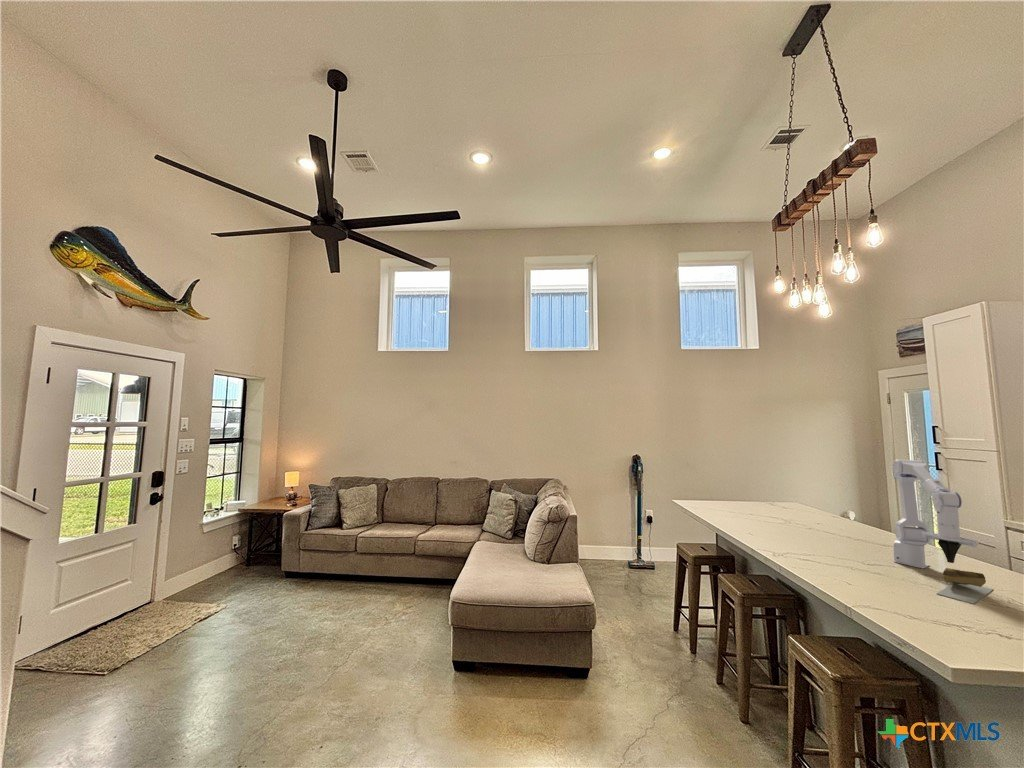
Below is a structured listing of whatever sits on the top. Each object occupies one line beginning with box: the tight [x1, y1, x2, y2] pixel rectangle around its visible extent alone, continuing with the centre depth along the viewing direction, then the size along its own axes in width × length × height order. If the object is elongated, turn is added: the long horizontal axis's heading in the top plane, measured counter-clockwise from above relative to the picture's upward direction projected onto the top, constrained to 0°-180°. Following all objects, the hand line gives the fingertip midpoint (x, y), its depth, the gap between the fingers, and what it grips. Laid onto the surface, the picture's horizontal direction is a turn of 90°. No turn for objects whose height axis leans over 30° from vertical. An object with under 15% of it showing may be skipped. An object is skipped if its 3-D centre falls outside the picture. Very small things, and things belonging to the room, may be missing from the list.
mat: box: [936, 583, 994, 605], centre depth 151 cm, size 9×24×1 cm, turn 121°
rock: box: [941, 567, 987, 587], centre depth 154 cm, size 11×9×10 cm
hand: (950, 562), depth 156 cm, fingers closed
